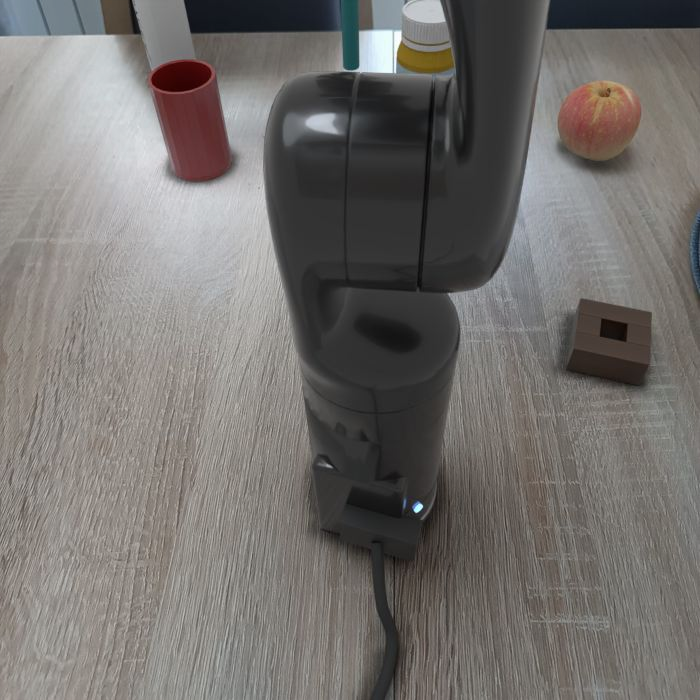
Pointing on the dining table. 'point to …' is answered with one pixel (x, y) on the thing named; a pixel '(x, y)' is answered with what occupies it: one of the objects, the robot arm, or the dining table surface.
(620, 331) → the block
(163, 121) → the cup
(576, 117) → the apple
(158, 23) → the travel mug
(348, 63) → the straw
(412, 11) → the bottle
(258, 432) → the dining table surface
